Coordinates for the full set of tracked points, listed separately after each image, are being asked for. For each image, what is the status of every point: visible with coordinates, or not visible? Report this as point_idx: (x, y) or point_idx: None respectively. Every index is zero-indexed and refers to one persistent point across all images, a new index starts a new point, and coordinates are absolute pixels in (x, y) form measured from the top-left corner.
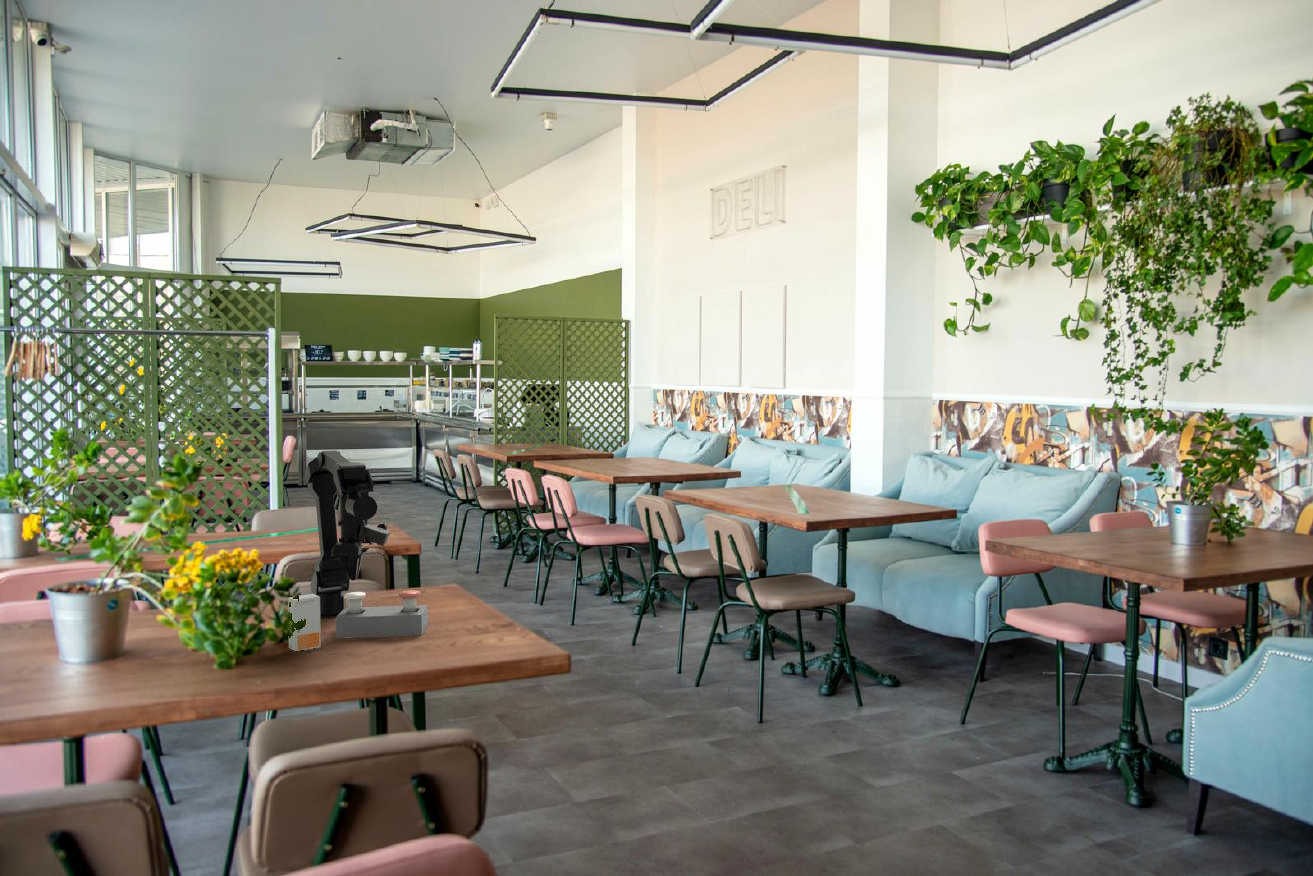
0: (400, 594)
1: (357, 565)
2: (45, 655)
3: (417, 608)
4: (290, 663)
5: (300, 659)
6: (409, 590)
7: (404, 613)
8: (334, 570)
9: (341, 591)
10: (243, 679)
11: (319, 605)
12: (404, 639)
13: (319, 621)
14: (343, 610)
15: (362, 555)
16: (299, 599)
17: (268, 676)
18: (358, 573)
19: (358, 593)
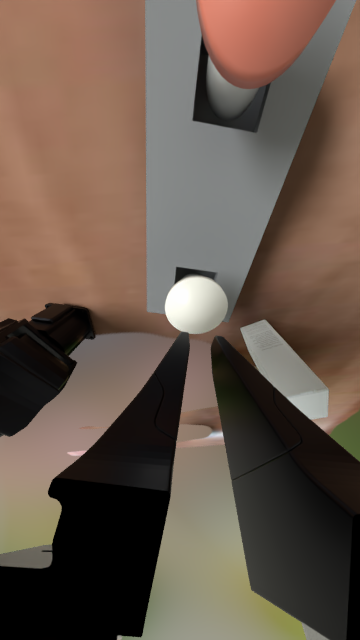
0: (299, 48)
1: (274, 397)
2: (189, 441)
3: None
4: (317, 343)
5: (307, 335)
6: None
7: (284, 100)
8: (18, 384)
9: (35, 329)
10: (343, 371)
11: (312, 371)
12: (306, 143)
13: (289, 346)
14: None
15: (138, 465)
16: (326, 412)
17: (355, 356)
18: (181, 341)
19: (189, 300)
